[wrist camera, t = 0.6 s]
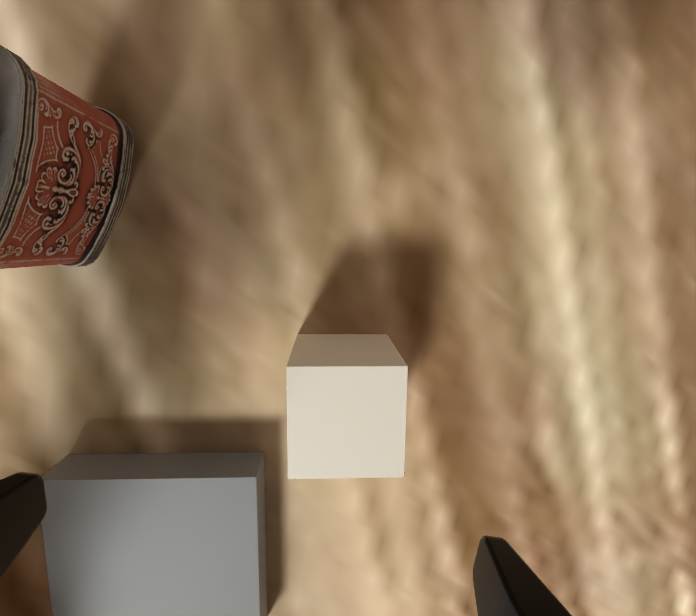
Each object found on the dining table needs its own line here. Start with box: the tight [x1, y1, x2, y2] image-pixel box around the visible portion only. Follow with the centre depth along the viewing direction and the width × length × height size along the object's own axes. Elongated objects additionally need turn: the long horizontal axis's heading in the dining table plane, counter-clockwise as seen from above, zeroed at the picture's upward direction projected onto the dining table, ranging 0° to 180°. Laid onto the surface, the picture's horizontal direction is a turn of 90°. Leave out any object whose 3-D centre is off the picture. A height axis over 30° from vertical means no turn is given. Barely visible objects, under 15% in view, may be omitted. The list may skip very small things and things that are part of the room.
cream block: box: [286, 334, 408, 479], centre depth 20 cm, size 5×5×6 cm
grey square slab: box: [41, 452, 268, 616], centre depth 23 cm, size 11×11×3 cm
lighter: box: [0, 45, 134, 269], centre depth 16 cm, size 8×3×10 cm, turn 158°
